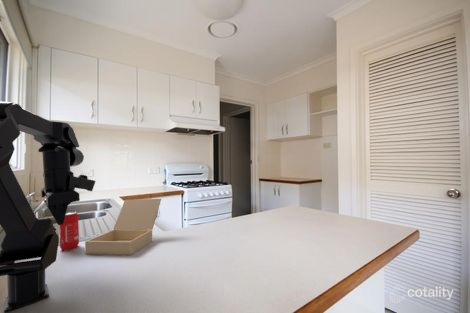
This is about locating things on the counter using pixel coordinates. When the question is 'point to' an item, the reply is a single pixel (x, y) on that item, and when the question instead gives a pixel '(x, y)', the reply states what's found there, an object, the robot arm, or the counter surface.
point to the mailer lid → (137, 214)
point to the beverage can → (69, 232)
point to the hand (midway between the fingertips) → (60, 224)
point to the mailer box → (118, 242)
